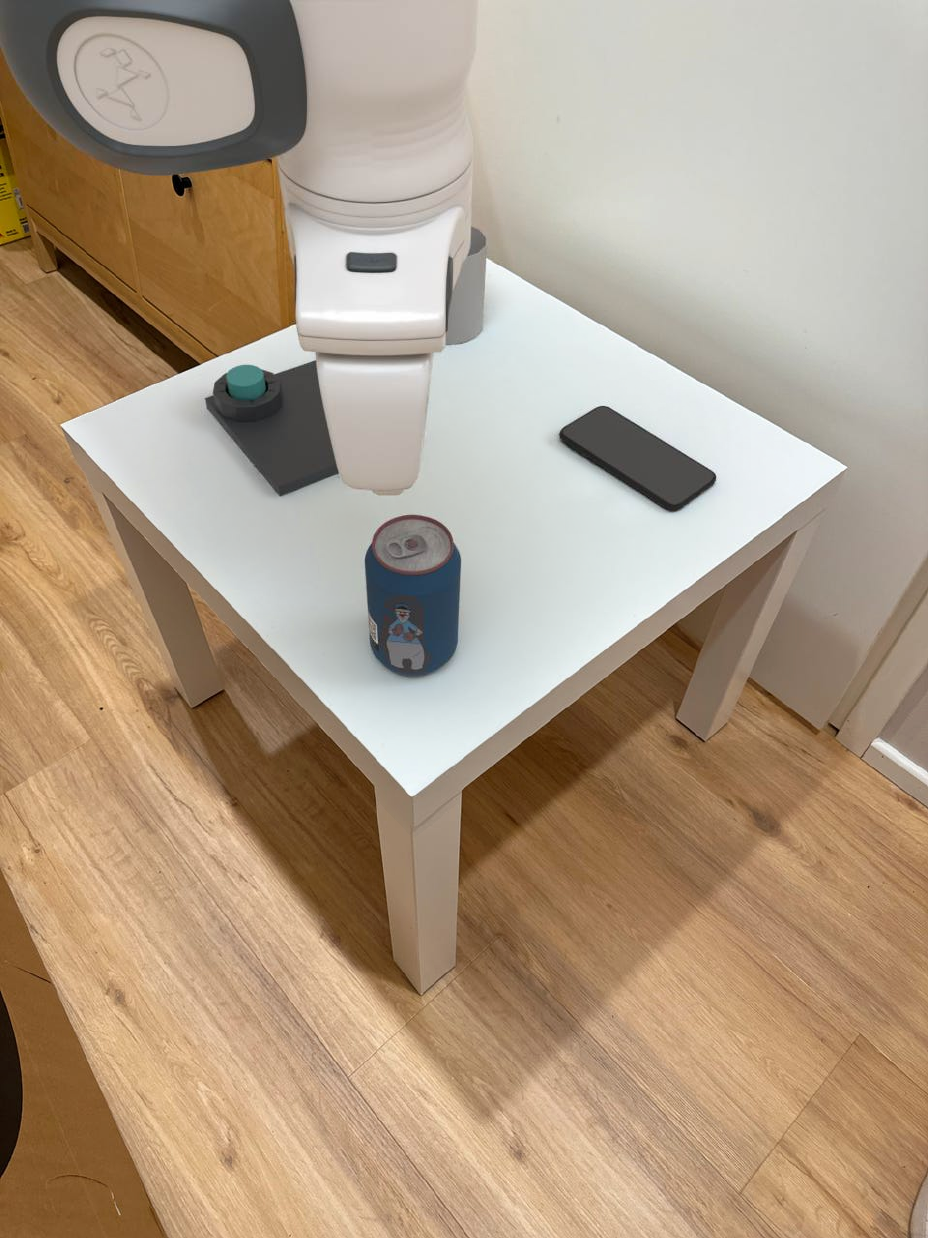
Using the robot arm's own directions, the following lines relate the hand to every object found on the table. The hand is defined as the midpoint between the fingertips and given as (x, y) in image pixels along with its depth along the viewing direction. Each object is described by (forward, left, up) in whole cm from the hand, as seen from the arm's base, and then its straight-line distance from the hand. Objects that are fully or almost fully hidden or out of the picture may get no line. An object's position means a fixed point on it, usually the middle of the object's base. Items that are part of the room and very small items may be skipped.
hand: (391, 428), depth 54 cm
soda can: (+2, +1, -23) cm, 23 cm away
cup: (+31, +39, -23) cm, 55 cm away
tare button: (+5, +36, -20) cm, 41 cm away
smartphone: (+33, +9, -23) cm, 41 cm away
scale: (+9, +31, -23) cm, 39 cm away
